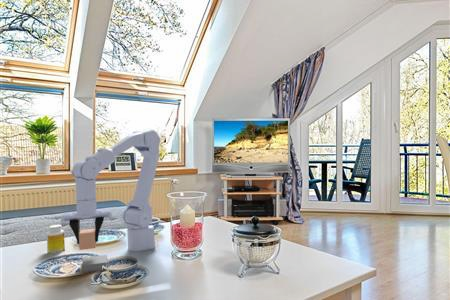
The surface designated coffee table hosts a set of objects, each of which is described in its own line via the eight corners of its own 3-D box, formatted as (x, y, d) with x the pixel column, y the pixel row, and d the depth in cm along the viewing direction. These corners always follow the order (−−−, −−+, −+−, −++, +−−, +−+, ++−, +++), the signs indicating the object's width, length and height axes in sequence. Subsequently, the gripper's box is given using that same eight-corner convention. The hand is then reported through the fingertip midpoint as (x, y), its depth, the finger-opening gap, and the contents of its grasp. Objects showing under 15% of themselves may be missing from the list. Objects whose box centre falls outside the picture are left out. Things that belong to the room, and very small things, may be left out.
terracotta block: (96, 243, 103) (95, 228, 103) (95, 248, 98) (94, 232, 98) (81, 245, 101) (80, 229, 101) (79, 249, 97) (78, 233, 97)
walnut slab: (108, 266, 103) (108, 260, 103) (108, 276, 96) (108, 269, 96) (81, 270, 101) (81, 264, 101) (79, 280, 93) (79, 273, 93)
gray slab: (107, 260, 103) (107, 254, 103) (106, 268, 96) (106, 262, 96) (83, 264, 100) (83, 257, 100) (81, 272, 94) (81, 265, 94)
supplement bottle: (66, 254, 114) (65, 225, 114) (49, 258, 110) (48, 228, 110) (62, 250, 118) (61, 223, 118) (46, 253, 115) (45, 225, 114)
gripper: (58, 203, 93) (60, 249, 94) (110, 199, 98) (112, 242, 98) (62, 199, 100) (63, 242, 100) (111, 195, 105) (112, 236, 105)
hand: (87, 242), depth 100 cm, fingers closed on terracotta block, 4 cm apart
